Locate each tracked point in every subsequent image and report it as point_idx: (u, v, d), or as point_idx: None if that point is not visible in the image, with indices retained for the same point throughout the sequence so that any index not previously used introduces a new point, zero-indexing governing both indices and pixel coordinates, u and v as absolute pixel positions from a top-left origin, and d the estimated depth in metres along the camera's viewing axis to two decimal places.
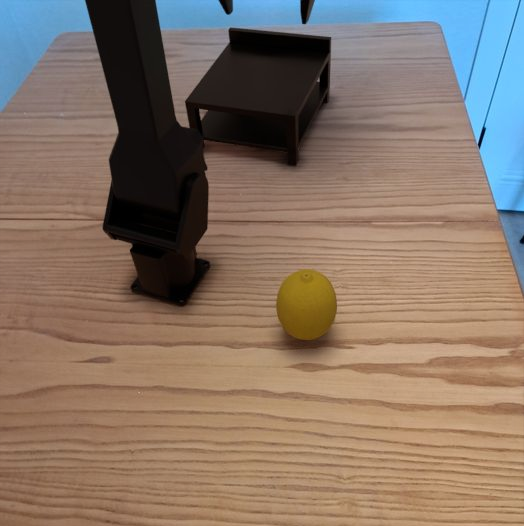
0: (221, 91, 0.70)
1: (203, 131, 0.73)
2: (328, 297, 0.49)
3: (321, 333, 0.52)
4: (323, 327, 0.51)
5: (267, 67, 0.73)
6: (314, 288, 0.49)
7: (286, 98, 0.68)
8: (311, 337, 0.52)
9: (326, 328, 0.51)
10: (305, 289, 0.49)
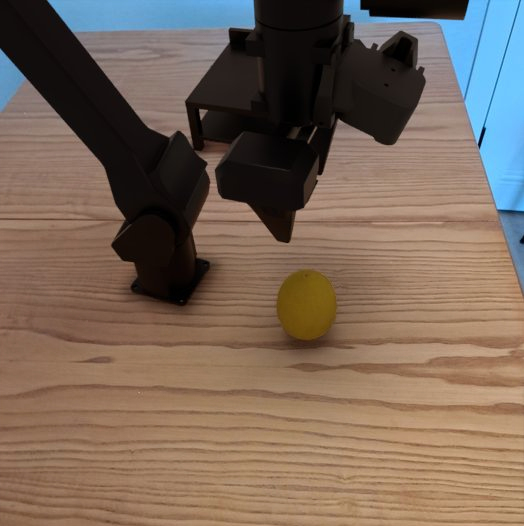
0: (221, 91, 0.70)
1: (203, 131, 0.73)
2: (328, 297, 0.49)
3: (321, 333, 0.52)
4: (323, 327, 0.51)
5: None
6: (314, 288, 0.49)
7: None
8: (311, 337, 0.52)
9: (326, 328, 0.51)
10: (305, 289, 0.49)
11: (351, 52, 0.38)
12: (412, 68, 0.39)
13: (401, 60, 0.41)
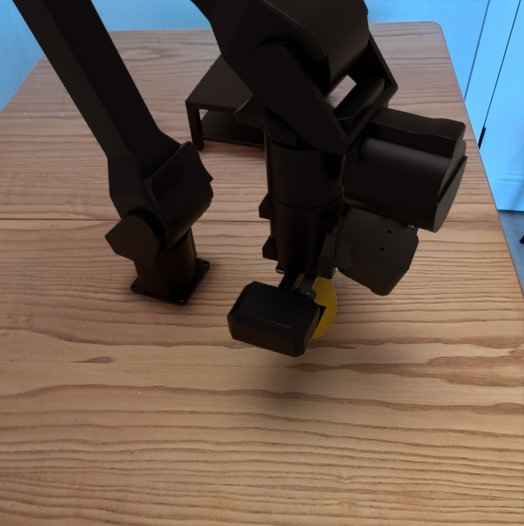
0: (221, 91, 0.70)
1: (203, 131, 0.73)
2: (328, 297, 0.49)
3: (321, 333, 0.52)
4: (323, 327, 0.51)
5: None
6: (314, 288, 0.49)
7: None
8: None
9: (326, 328, 0.51)
10: None
11: (352, 216, 0.43)
12: (407, 228, 0.44)
13: None
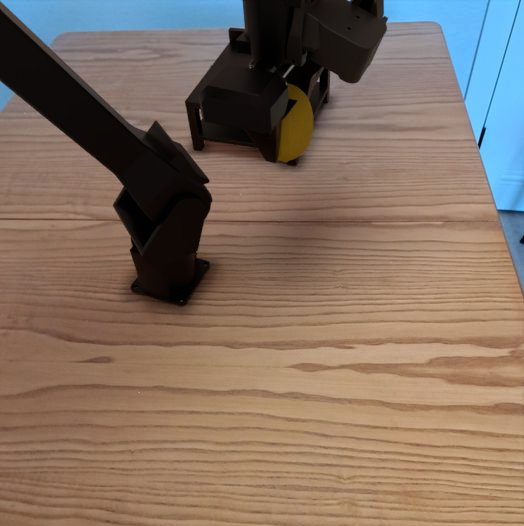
0: None
1: (203, 131, 0.73)
2: (303, 107, 0.51)
3: (297, 150, 0.53)
4: (299, 141, 0.52)
5: None
6: (290, 95, 0.50)
7: None
8: (287, 154, 0.53)
9: (302, 144, 0.53)
10: None
11: (322, 0, 0.44)
12: (376, 17, 0.45)
13: (369, 11, 0.47)
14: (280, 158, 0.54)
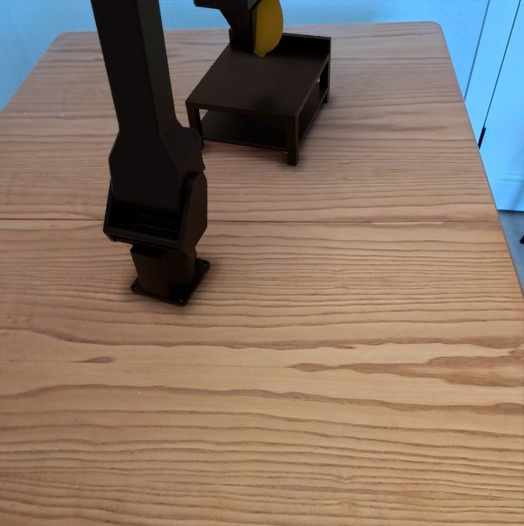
0: (221, 91, 0.70)
1: (203, 131, 0.73)
2: (274, 3, 0.64)
3: (270, 41, 0.66)
4: (271, 32, 0.65)
5: (267, 67, 0.73)
6: None
7: (286, 98, 0.68)
8: (263, 45, 0.66)
9: (274, 36, 0.66)
10: None
11: None
12: None
13: None
14: (257, 50, 0.67)
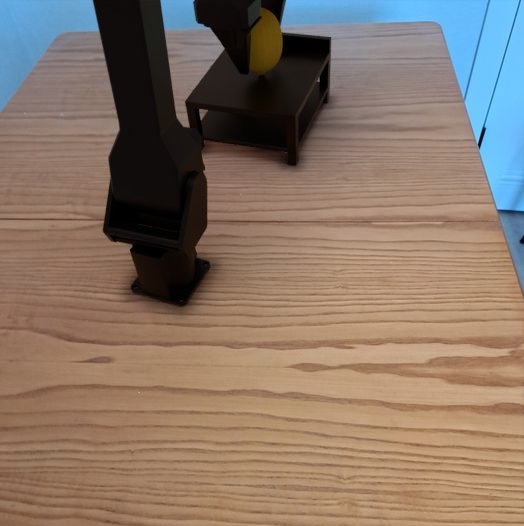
0: (221, 91, 0.70)
1: (203, 131, 0.73)
2: (273, 25, 0.66)
3: (270, 61, 0.68)
4: (271, 53, 0.68)
5: None
6: (263, 15, 0.66)
7: (286, 98, 0.68)
8: (263, 64, 0.68)
9: (274, 56, 0.68)
10: None
11: None
12: None
13: None
14: (257, 69, 0.69)
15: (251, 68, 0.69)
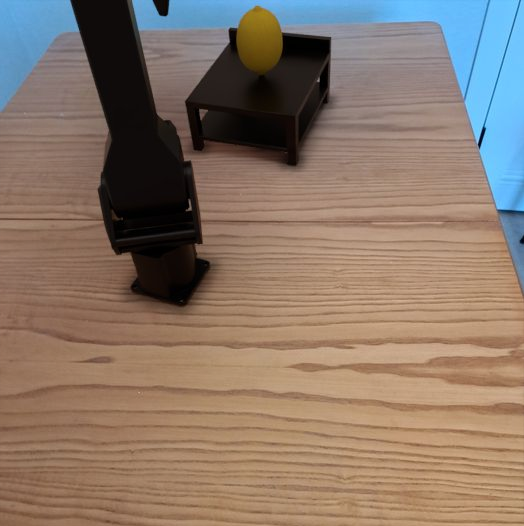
0: (221, 91, 0.70)
1: (203, 131, 0.73)
2: (273, 25, 0.66)
3: (270, 61, 0.68)
4: (271, 53, 0.68)
5: None
6: (263, 15, 0.66)
7: (286, 98, 0.68)
8: (263, 64, 0.68)
9: (274, 56, 0.68)
10: (256, 16, 0.65)
11: None
12: None
13: None
14: (257, 69, 0.69)
15: (251, 68, 0.69)
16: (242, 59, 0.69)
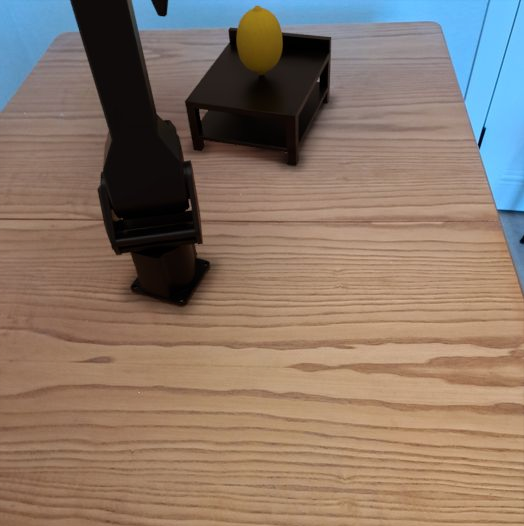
0: (221, 91, 0.70)
1: (203, 131, 0.73)
2: (273, 25, 0.66)
3: (270, 61, 0.68)
4: (271, 53, 0.68)
5: None
6: (263, 15, 0.66)
7: (286, 98, 0.68)
8: (263, 64, 0.68)
9: (274, 56, 0.68)
10: (256, 16, 0.65)
11: None
12: None
13: None
14: (257, 69, 0.69)
15: (251, 68, 0.69)
16: (242, 59, 0.69)
